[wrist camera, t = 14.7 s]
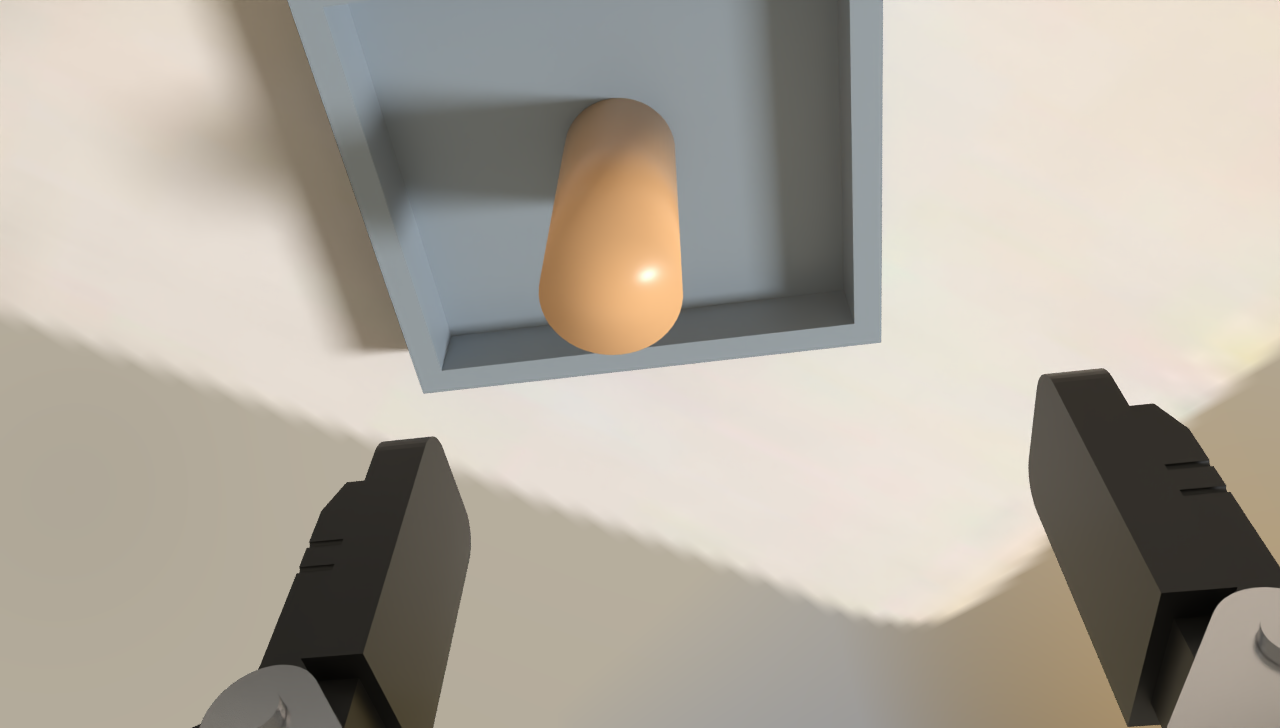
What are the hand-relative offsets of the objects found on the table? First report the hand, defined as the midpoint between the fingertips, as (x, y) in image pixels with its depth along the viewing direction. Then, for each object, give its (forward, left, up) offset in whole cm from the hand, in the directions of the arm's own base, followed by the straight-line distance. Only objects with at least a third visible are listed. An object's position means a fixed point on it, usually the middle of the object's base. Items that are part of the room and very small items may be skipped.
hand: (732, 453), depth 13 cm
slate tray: (+3, +5, -24) cm, 24 cm away
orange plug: (+3, +5, -23) cm, 24 cm away
